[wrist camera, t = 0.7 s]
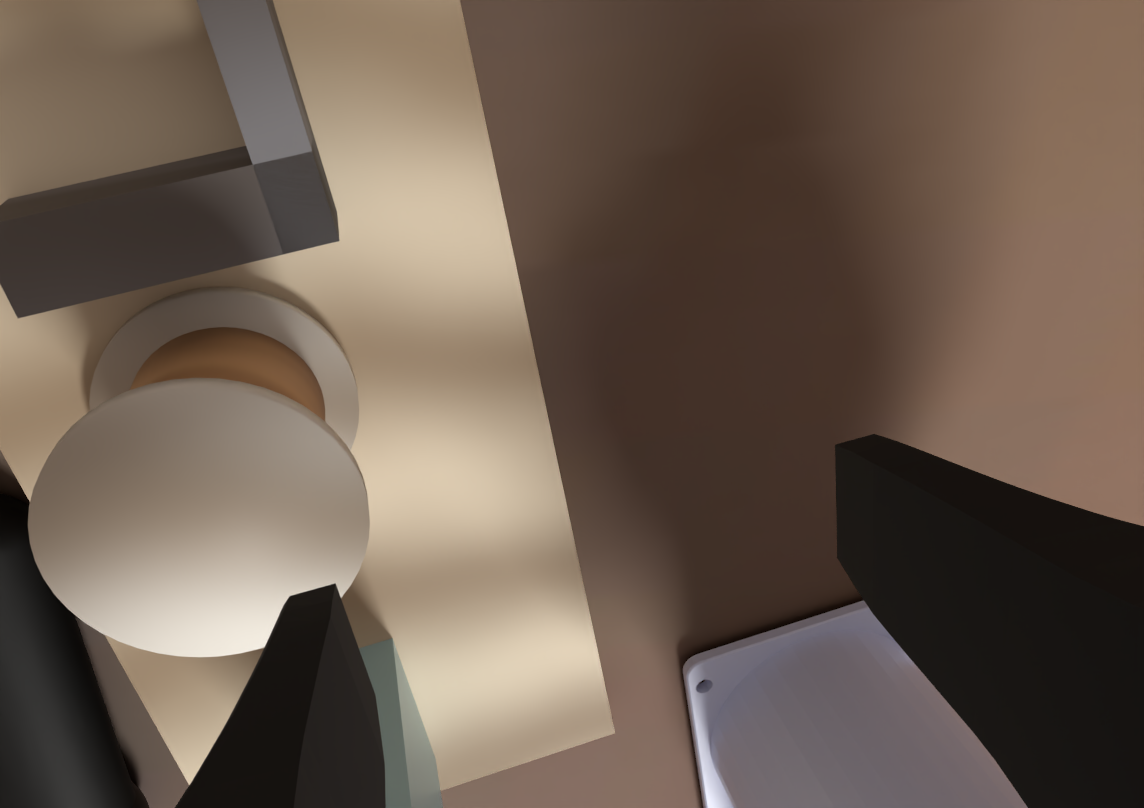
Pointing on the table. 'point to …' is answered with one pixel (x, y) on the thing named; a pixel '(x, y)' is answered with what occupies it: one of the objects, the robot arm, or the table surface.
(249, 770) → the robot arm
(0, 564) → the door handle
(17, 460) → the winding board
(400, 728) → the pale blue block
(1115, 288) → the table surface
